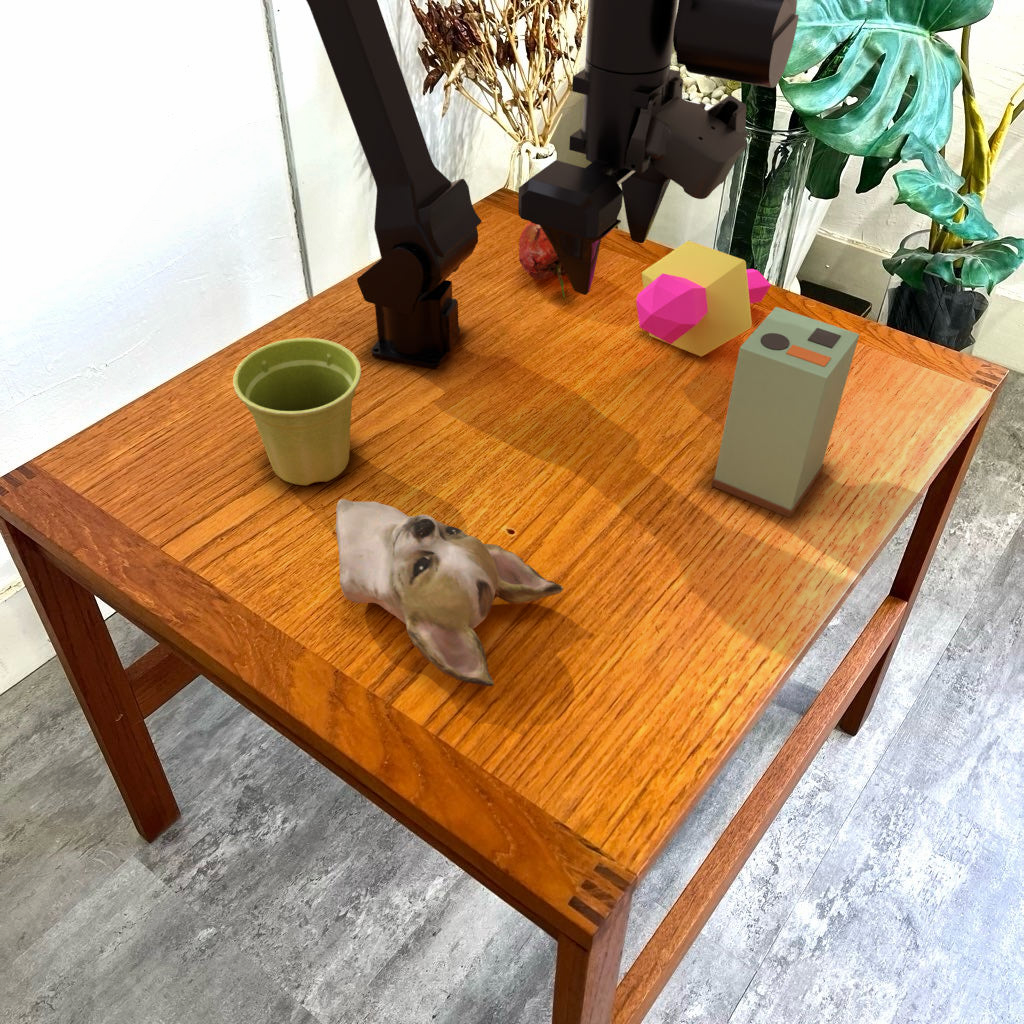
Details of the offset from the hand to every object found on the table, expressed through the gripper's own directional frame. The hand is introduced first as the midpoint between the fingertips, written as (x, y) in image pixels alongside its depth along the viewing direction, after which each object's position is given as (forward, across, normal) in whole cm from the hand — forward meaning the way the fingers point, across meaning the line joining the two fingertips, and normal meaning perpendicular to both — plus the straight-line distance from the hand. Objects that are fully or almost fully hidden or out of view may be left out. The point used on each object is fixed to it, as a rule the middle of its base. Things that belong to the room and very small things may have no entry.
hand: (610, 266), depth 80 cm
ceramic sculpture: (+13, -27, -2) cm, 30 cm away
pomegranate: (+13, +15, +13) cm, 24 cm away
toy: (+13, +13, -3) cm, 19 cm away
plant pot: (+13, -20, +16) cm, 28 cm away
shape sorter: (+13, -2, -16) cm, 21 cm away
